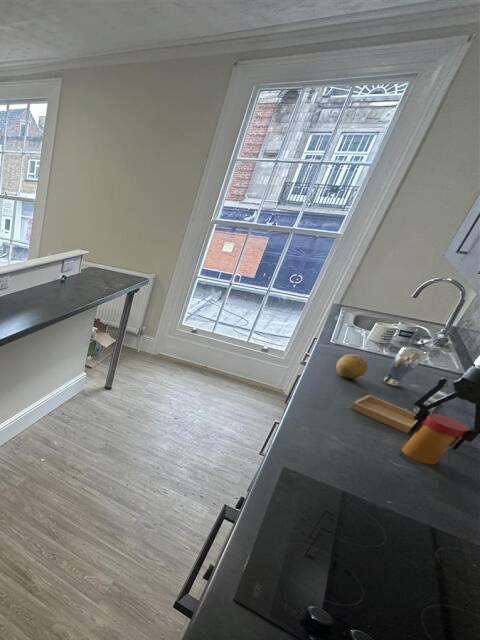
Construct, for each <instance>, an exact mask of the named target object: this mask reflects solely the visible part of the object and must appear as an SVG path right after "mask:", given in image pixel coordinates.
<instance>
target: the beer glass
mask: <svg viewBox="0 0 480 640" xmlns="http://www.w3.org/2000/svg"><path fill="white" fill-rule="evenodd" d="M425 356H426V351H424V350H421V349H419V348H416V347H412V346H403V347H402V348H401V349H400V350H399V351H398V353H397V354H396V355H395V357H394V358H393V360H392V362H391V364H390V366H389V369H388V371H387V372H386V374H385V375H384V376H383V377H382V378H381V379H380V381H381V380H382V381H383V382H385V383H388V384H390V385H394V386H400V387H401V386H402V383H403V381H404V380H405V379H406V377H408V376H409V375H410V374H411V373H412V372H413V371H414V370H415V369H416V368H417V367H418V366H419V364H421V362H422V361H423V359H424V357H425ZM382 381H381V382H382ZM383 382H382V383H383ZM385 383H384V384H385ZM390 385H389V386H390ZM394 386H393V387H394Z"/></svg>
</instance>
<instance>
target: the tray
mask: <svg viewBox="0 0 480 640" xmlns="http://www.w3.org/2000/svg"><path fill="white" fill-rule="evenodd" d="M349 409H351V410H353V411H356V412H358V413H359V414H362V415H364V416H367V417H369V418H371V419H374V420H376V421H378V422H380V423H382V424H384V425H386V426H389V427H392V428H394V429H396V430H398V431H401V432H403V433H405V434H408V433H409V432H411V431H410V429H411V428H412V427H413V426H414V425H415V423H416V422H417V421H418V420H416V419H414V417H415V415H416V414H417V413H415V412H413V411H409V410H407V409H404V408H403V407H400V406H397V405H395V404H392V403H390V402H387V401H385V400H384V399H383V400H382V399H380V398H378V397H376V396H373V395H371V394H367V395H365V396H363V397H362V398H359V399H357V400H356V401H354V402H352V404H351V405H350V406H349Z"/></svg>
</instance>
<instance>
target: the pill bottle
mask: <svg viewBox="0 0 480 640" xmlns="http://www.w3.org/2000/svg"><path fill="white" fill-rule="evenodd" d="M447 395H448V394H447V393H445V392H443V391H441V390H439V391H438V392H437V393H435V394H434V395H433V396H432V397H430V398H429V399H428V400H427V401H425V402H424V404H425V405H428V404H430V403H432V402H434V401H436V400H439V399H441V398H443V397H445V396H447ZM445 403H446V402H445ZM445 403H443V404H440V405H438V406H436V407H434V408H431V409H429V410H428V411H431V412H430V413H435V414H438V413H439V412H440V410H441V409H442V407H444V405H445ZM419 410H420V408H419V407H417V406H415V407H414V408H413V413H414V414H417V413H418V412H419Z"/></svg>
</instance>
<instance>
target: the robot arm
mask: <svg viewBox="0 0 480 640" xmlns="http://www.w3.org/2000/svg"><path fill="white" fill-rule="evenodd" d="M473 363H474V364H473V365H470V367H468V369H467V370H466V371H465V372H464V374H463V375H462V376H461V378H459V379H450V378H448V377H447V376H443V377H441V378H440V379H439V380H438V382H437V384H436V386H434V387H433V388H431V389H430V390H429V391H427V392H426V393H425V394H423V395H422V396H421V397H420V398H418V400H417V401H415V402H414V403H413V406H415V407H416V406H417V407H419V408H420V410H419V412H418V413H415V414H416V415H415V417H414V419H416V420H418V421H417V422H416V423H415V425H414V426H413V427H412V428H411V429H410V431H409V432H416V431H417V430H418V429H419V427H420V426H421V425H422V424H423V423H424V422H423V420H424V418H425V417H426V416H427V415H428V414H429V413H430V412H431V411H428V410H429V409H431V408H434V407H436V406H438V405H440V404H443V403H447V402H450V401H451V400H455V399H456V398H458V399H460V400H463V401H467V402H469V403H471V404H473V405H474V404H475V407H474V408H475V411H474V412H475V413H474V424H473V425H474V426H473V427H471V428H469V430H468V431H467V433H466V434H465V435H464V436H463V437H460V438H459V439H458V440H457V441H456V442H455V444H454V445H453V446H452V447H451V449H452V450H454V451H456V450H457V449H459V447H461V445H462V444H463V443H464V442H468V443H471V442H473V441H474V440H475V439H476V438H477V437H478V436H479V435H480V355H479V356H478V357H477V358H476V359H475V361H474V362H473ZM450 385H453V388H454V392H451V393H449V394H447V396H445V397H443V398H441V399H439V400H436V401H434V402H432V403H430V404H428V405H425V404H424V402H425V401H427V400H428V399H429V398H430V397H432V396H433V395H434V394H435V393H437V392H438V391H441V390H442V389H443V388H445V387H449V386H450Z"/></svg>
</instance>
